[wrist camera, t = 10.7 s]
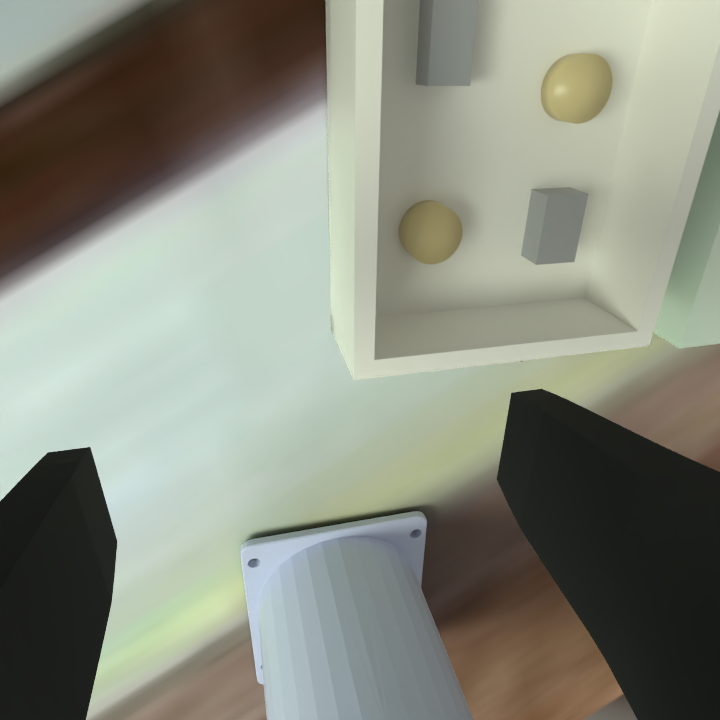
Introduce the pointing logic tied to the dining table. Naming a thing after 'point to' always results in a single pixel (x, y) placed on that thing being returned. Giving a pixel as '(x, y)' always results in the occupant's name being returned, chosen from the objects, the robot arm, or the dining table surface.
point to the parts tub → (510, 173)
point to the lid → (697, 265)
